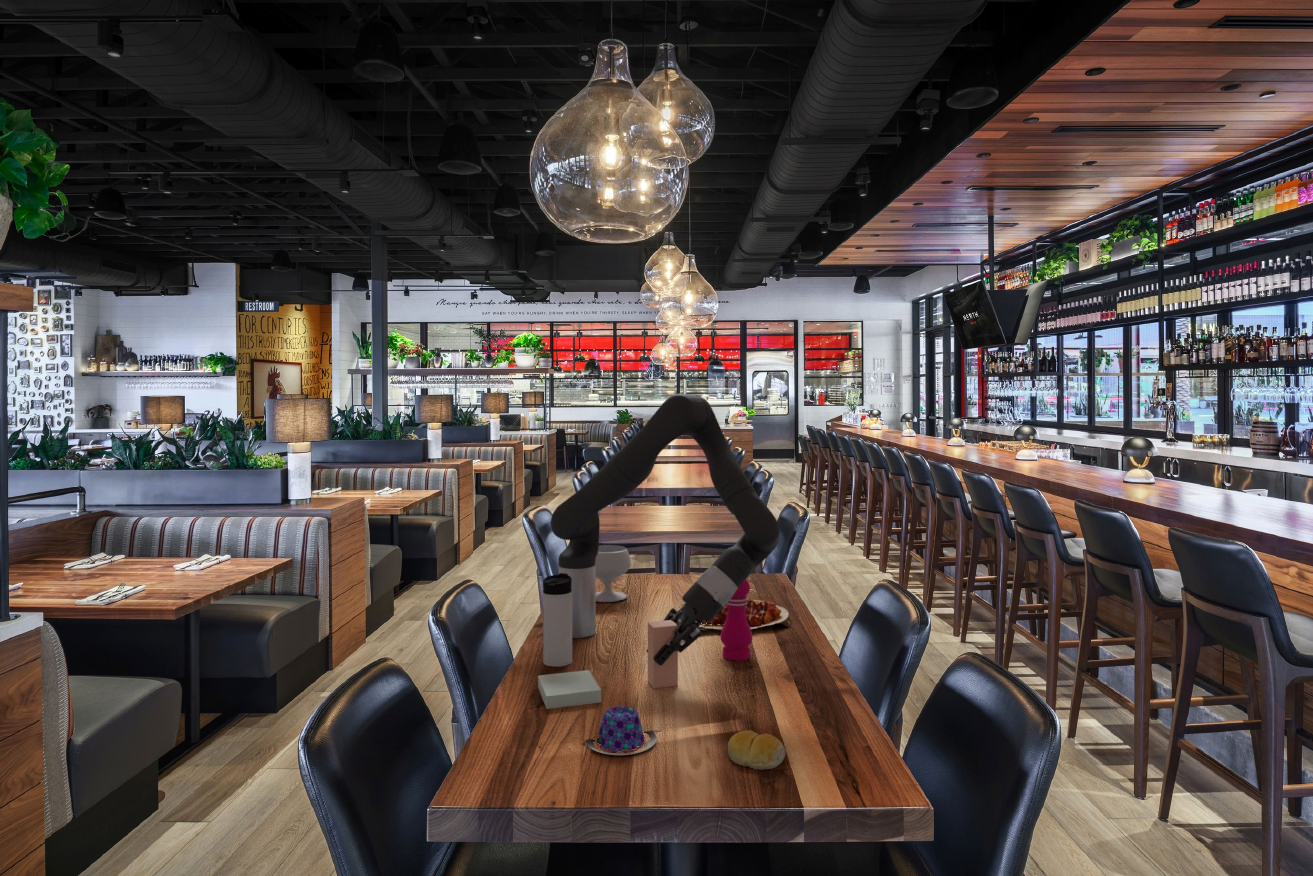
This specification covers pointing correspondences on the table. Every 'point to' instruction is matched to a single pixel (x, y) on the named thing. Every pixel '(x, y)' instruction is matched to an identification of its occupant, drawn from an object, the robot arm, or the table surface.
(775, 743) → the bread roll
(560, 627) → the travel mug
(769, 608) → the plate of glazed chicken
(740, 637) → the pepper mill
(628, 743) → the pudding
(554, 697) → the ticket board
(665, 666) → the stub
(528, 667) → the table surface
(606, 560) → the chalice
